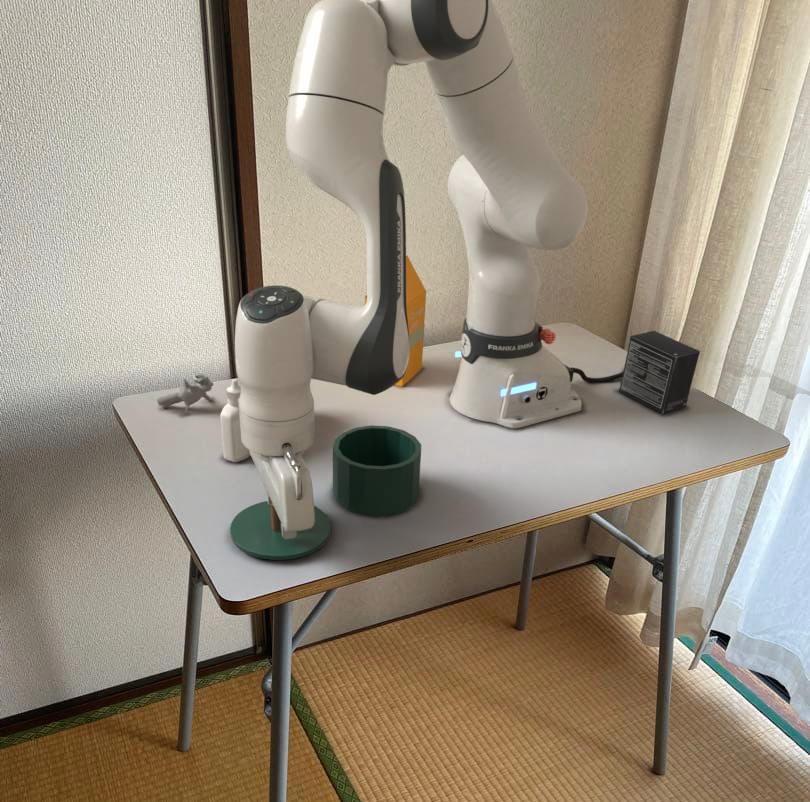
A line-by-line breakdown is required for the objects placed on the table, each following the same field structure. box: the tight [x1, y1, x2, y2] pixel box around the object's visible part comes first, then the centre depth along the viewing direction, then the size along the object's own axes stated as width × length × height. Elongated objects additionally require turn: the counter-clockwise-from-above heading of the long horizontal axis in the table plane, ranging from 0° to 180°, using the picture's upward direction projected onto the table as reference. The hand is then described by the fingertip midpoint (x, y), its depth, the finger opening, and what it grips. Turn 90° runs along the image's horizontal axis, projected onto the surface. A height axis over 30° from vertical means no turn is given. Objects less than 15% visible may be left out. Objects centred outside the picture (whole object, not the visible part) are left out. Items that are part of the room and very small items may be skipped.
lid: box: [229, 499, 332, 561], centre depth 112 cm, size 13×13×5 cm
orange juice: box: [364, 255, 427, 387], centre depth 150 cm, size 8×9×20 cm
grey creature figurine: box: [156, 371, 214, 415], centre depth 139 cm, size 10×6×9 cm
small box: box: [618, 330, 701, 415], centre depth 148 cm, size 11×6×10 cm, turn 34°
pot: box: [332, 424, 422, 517], centre depth 121 cm, size 12×12×8 cm
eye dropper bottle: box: [219, 378, 251, 463], centre depth 126 cm, size 4×6×12 cm
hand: (281, 521), depth 112 cm, fingers open, 5 cm apart
